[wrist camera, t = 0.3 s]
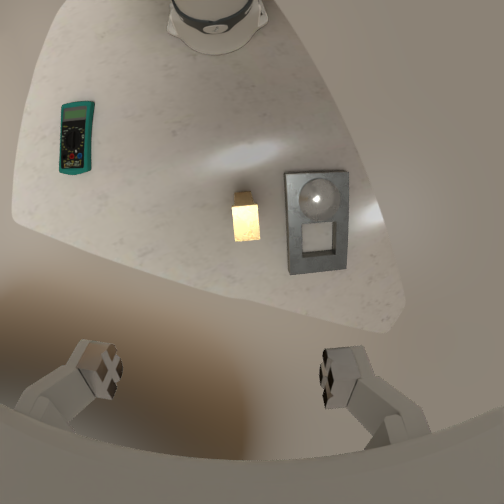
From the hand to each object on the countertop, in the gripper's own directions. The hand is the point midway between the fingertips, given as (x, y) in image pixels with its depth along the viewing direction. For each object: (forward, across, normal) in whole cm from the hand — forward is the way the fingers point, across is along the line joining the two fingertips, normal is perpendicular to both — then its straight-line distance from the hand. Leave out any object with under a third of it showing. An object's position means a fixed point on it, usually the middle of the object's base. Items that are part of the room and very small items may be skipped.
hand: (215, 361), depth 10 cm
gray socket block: (+47, -14, +12) cm, 50 cm away
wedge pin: (+46, +1, +8) cm, 47 cm away
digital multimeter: (+46, +34, -8) cm, 57 cm away
